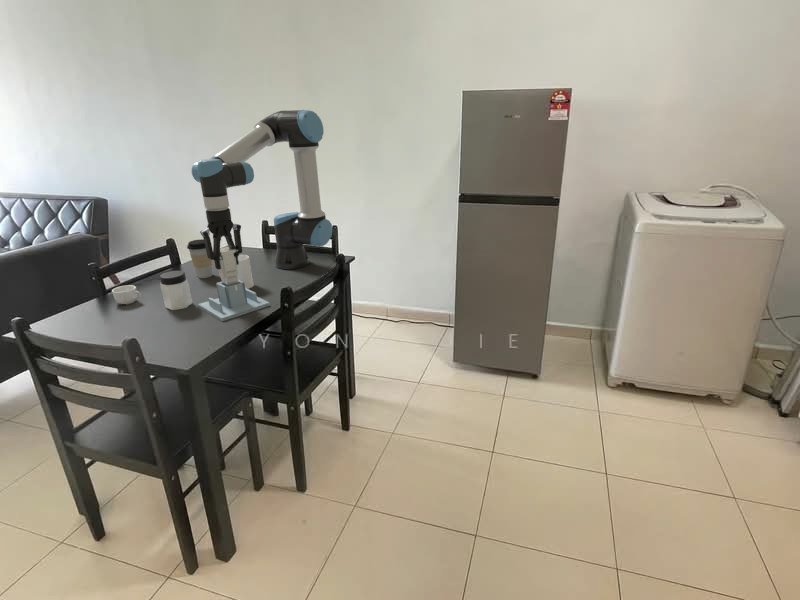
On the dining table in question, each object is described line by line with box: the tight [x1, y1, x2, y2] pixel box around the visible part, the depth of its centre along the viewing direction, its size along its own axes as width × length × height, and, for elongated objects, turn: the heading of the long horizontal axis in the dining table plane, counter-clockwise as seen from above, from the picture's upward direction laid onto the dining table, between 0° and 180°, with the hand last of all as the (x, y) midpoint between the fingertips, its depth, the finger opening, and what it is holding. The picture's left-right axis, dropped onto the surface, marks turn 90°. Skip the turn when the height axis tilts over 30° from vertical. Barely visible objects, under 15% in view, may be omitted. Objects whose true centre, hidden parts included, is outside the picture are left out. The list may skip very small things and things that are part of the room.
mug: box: [237, 254, 255, 290], centre depth 178 cm, size 12×8×12 cm
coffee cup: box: [186, 238, 213, 279], centre depth 191 cm, size 9×9×15 cm
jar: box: [159, 270, 193, 311], centre depth 162 cm, size 9×8×12 cm
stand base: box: [197, 280, 271, 322], centre depth 161 cm, size 18×18×9 cm
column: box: [219, 246, 238, 287], centre depth 158 cm, size 5×5×20 cm
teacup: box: [111, 284, 142, 305], centre depth 167 cm, size 10×8×5 cm
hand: (229, 275), depth 158 cm, fingers closed on column, 4 cm apart
